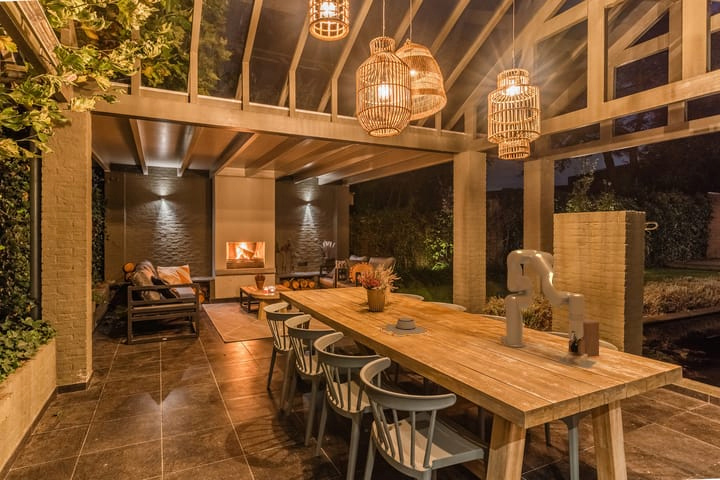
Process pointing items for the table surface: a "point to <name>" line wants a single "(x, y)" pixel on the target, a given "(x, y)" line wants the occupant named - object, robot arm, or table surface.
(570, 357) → the birch base brick
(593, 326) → the wooden block
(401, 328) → the sun hat
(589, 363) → the grey flat square
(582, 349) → the walnut cube
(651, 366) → the table surface
